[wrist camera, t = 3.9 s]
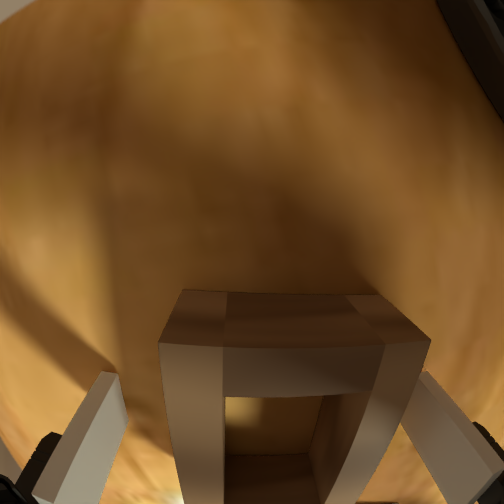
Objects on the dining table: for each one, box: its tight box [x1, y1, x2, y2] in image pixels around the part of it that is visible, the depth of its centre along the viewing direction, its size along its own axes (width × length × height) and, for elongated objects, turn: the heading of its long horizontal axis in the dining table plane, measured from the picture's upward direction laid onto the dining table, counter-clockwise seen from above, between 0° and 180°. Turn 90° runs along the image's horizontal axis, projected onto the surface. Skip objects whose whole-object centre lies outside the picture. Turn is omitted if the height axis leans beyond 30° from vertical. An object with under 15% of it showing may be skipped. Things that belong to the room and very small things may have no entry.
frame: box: [158, 290, 431, 504], centre depth 10 cm, size 10×7×4 cm
